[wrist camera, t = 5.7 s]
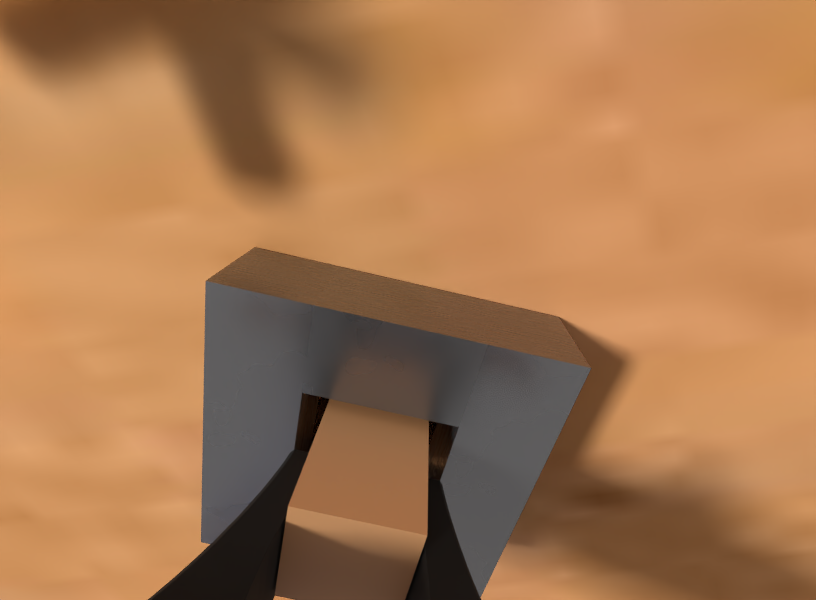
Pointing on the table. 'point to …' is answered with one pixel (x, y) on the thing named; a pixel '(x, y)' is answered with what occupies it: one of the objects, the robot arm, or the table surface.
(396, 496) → the tan wooden block
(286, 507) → the robot arm
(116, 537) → the table surface
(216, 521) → the grey square frame
